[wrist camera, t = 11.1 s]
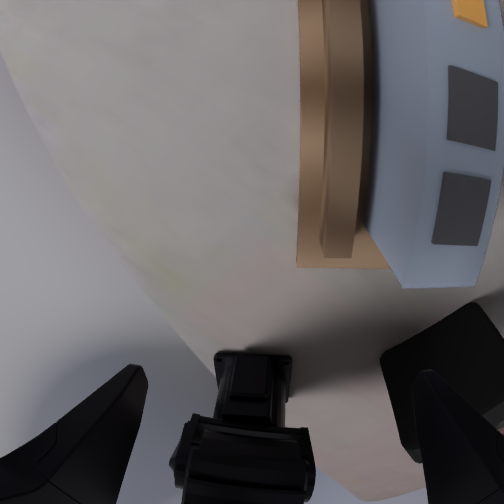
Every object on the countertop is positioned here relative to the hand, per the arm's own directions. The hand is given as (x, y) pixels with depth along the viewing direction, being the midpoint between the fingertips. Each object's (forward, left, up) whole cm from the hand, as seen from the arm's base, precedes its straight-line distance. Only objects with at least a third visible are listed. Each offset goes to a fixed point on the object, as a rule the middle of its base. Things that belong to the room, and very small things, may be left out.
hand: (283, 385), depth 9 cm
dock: (+8, -7, -12) cm, 16 cm away
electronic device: (-10, -14, -12) cm, 21 cm away
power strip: (+8, -7, -11) cm, 15 cm away
